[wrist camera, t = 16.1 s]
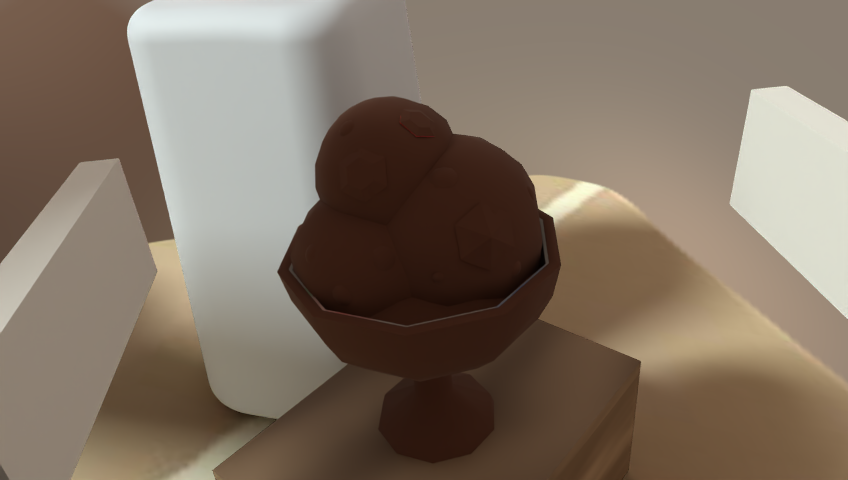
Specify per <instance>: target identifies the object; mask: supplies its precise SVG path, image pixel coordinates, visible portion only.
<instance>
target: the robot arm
mask: <svg viewBox="0 0 848 480" xmlns="http://www.w3.org/2000/svg"><path fill="white" fill-rule="evenodd" d="M730 205H731V206H732V207H733V208H734V209H735V210H736V211H737V212H738V213H739V214H740V215H741V216H742V217H743V218H744V219H745V220H746V221H747V222H748V223H749V224H750V225H751V226H752V227H753V228H755V229H756V230H757V231H758V232H759V233H760V234H761V235H762V236H763V237H764V238H765V239H766V240H767V241H768V242H769V243H770V244H771V245H772V246H773V247H774V248H775V249H776V250H777V251H778V252H779V253H780V254H781V255H782V256H783V257H784V258H785V259H786V260H787V261H789V263H790V264H792V265H793V266H794V267H795V268H796V269H797V270H798V271H799V272H800V273H801V274H802V275H803V276H804V277H805V278H806V279H807V280H808V281H809V282H810V283H811V284H812V285H813V286H814V287H815V288H816V289H817V290H818V291H819V292H820V293H821V294H822V295H823V296H824V297H826V299H827V300H829V301H830V302H831V303H832V304H833V305H834V306H835V307H836V308H837V309H838V310H839V311H840V312H841V313H842V314H843V315H844V316H845V317H846V318H847V319H848V121H846V120H844V119H843V118H841V117H839V116H838V115H836V114H834V113H832V112H831V111H829V110H827V109H826V108H824V107H822V106H820V105H819V104H817V103H815V102H813V101H812V100H810V99H808V98H807V97H805V96H803V95H801V94H799V93H798V92H796V91H794V90H793V89H791V88H789V87H788V86H782V87H773V88H763V89H755V90H751V95H750V100H749V106H748V111H747V116H746V121H745V126H744V132H743V138H742V142H741V147H740V152H739V158H738V163H737V169H736V173H735V179H734V184H733V189H732V194H731V200H730ZM156 273H157V268H156V265H155V263H154V260H153V257H152V254H151V251H150V248H149V245H148V242H147V239H146V236H145V233H144V231H143V228H142V225H141V222H140V219H139V217H138V213H137V210H136V207H135V205H134V201H133V199H132V196H131V193H130V190H129V187H128V184H127V181H126V179H125V175H124V173H123V169H122V167H121V164H120V161H119V159H108V160H99V161H91V162H81V163H79V164H78V166H77V167H76V168H75V169H74V171H73V172H72V173H71V175H70V176H69V177H68V178H67V180H66V181H65V182H64V184H63V185H62V186H61V187H60V189H59V190H58V191H57V192H56V194H55V195H54V196H53V198H52V199H51V200H50V201H49V203H48V204H47V205H46V206H45V208H44V209H43V210H42V212H41V213H40V214H39V216H38V217H37V218H36V219H35V221H34V222H33V223H32V224H31V226H30V227H29V228H28V229H27V231H26V232H25V233H24V235H23V236H22V237H21V238H20V240H19V241H18V242H17V243H16V245H15V246H14V247H13V249H12V250H11V251H10V252H9V254H8V255H7V256H6V257H5V259H4V260H3V261H2V263H1V264H0V480H71V477H72V475H73V473H74V470H75V468H76V465H77V463H78V461H79V458H80V456H81V453H82V451H83V449H84V446H85V444H86V441H87V439H88V437H89V434H90V432H91V429H92V427H93V425H94V422H95V420H96V417H97V415H98V413H99V410H100V408H101V405H102V403H103V401H104V398H105V396H106V393H107V391H108V389H109V386H110V384H111V381H112V379H113V377H114V374H115V372H116V369H117V367H118V365H119V362H120V360H121V357H122V355H123V353H124V350H125V348H126V345H127V343H128V341H129V338H130V336H131V333H132V331H133V329H134V326H135V324H136V321H137V319H138V317H139V314H140V312H141V309H142V307H143V305H144V302H145V300H146V297H147V295H148V293H149V290H150V288H151V285H152V283H153V281H154V278H155V276H156Z"/></svg>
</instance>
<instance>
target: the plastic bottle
mask: <svg viewBox="0 0 848 480" xmlns="http://www.w3.org/2000/svg"><path fill="white" fill-rule="evenodd" d="M127 30H128V31H127V35H128V42H129V46H130V50H131V54H132V58H133V63H134V67H135V71H136V75H137V80H138V84H139V88H140V92H141V96H142V101H143V105H144V109H145V114H146V118H147V122H148V126H149V131H150V135H151V139H152V143H153V147H154V152H155V156H156V160H157V165H158V169H159V173H160V177H161V182H162V185H163V190H164V194H165V199H166V203H167V207H168V211H169V215H170V220H171V224H172V228H173V232H174V237H175V241H176V245H177V249H178V254H179V258H180V262H181V266H182V271H183V275H184V279H185V283H186V288H187V292H188V296H189V300H190V304H191V309H192V313H193V317H194V321H195V326H196V330H197V334H198V338H199V343H200V347H201V351H202V355H203V360H204V364H205V368H206V372H207V377H208V381H209V384H210V387H211V389H212V391H213V393H214V394H215V396H216V397H217V398H218V399H219V401H221V402H222V403H223V404H224V405H226V406H227V407H229V408H231V409H233V410H235V411H238V412H241V413H246V414H251V415H256V416H262V417H268V418H273V419H278V418H280V417H281V416H282V415H284V414H285V413H286V412H287V411H289V410H290V409H291V408H293V407H294V406H295V405H296V404H298V403H299V402H300V401H301V400H303V399H304V398H305V397H307V396H308V395H309V394H310V393H312V392H313V391H314V390H315V389H317V388H318V387H319V386H321V385H322V384H323V383H324V382H326V381H327V380H328V379H329V378H331V377H332V376H333V375H335V374H336V373H337V372H338V371H340V370H341V369H342V368H343V367H345V366H346V365H347V363H343V362H341V360H340V359H339V358H338V357H337V356H336V355H335V354H334V353H333V352H332V351H331V350H330V349H329V348H328V347H327V345H326V344H325V343H324V342H323V341H322V339H321V338H320V337H319V335H318V334H317V333H316V332H315V330H314V329H313V328H312V326H311V325H310V324H309V323H308V321H307V320H306V319H305V318H304V316H303V315H302V314H301V312H300V311H299V310H298V309H297V307H296V306H295V305H294V303H293V302H292V301H291V299H290V297H289V295H288V293H287V291H286V289H285V287H284V285H283V283H282V281H281V279H280V277H279V275H278V273H277V271H278V269H279V267H280V265H281V262H282V260H283V258H284V256H285V254H286V252H287V249H288V247H289V245H290V243H291V241H292V239H293V237H294V234H295V232H296V230H297V228H298V226H299V225H301V224H303V222H304V220H305V217H306V215H307V213H308V211H309V210H310V209H311V208H312V207H313V206H314V205H315V204H316V203H317V202H318V201H319V200H320V199H319V196H318V194H317V191H316V188H315V163H316V160H317V157H318V153H319V150H320V147H321V144H322V141H323V139H324V137H325V135H326V133H327V132H328V130H329V128H330V127H331V126H332V125H333V123H334V122H335V121H336V120H337V119H338V117H339V116H340V115H341V114H342V113H344V112H345V111H346V110H348V109H349V108H350V107H352V106H354V105H356V104H358V103H360V102H362V101H364V100H368V99H371V98H375V97H388V96H395V97H400V98H405V99H408V100H411V101H414V102H417V103H420V104H422V103H421V97H420V90H419V84H418V78H417V72H416V65H415V59H414V53H413V46H412V41H411V34H410V28H409V21H408V15H407V9H406V3H405V0H154V1H151V2H149V3H147V4H145V5H143V6H142V7H140V8H139V9H138V10H137V11H136V12H135V13H134V15H133V16H132V17H131V19H130V21H129V24H128V29H127Z"/></svg>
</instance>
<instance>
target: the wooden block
mask: <svg viewBox="0 0 848 480" xmlns="http://www.w3.org/2000/svg"><path fill="white" fill-rule="evenodd" d="M640 365H641V361H639V360H637V359H634V358H632V357H629V356H627V355H625V354H622V353H620V352H617V351H615V350H612V349H610V348H607V347H605V346H603V345H600V344H598V343H595V342H593V341H590V340H588V339H585V338H583V337H581V336H578V335H576V334H573V333H571V332H568V331H566V330H563V329H561V328H558V327H556V326H554V325H551V324H549V323H546V322H544V321H541V320H539V319H537V320H536V321H535V322H534V323H533V324H532V325H531V326H530V327H529V328H528V329H527V330H526V331H525V332H524V333H523V334H521V335H520V336H519V337H518V338H517V339H516V340H515V341H514V342H513V343H512V344H511V345H510V346H509V347H508V348H507V349H506V350H505V351H504V352H503V353H501V354H500V355H499V356H498V357H497V358H496V359H495V360H494V361H492V362H490V363H488V364H486V365H484V366H482V367H480V368H478V369H473V370H469V371H465V372H461V373H466V374H470V375H471V376H472V377H473V378H474V379H475V380H476V381H477V382H478V383H479V384H481V385H482V386H483V387H484V388H485V389H486V390H487V391H488V392H489V393H490V395H491V397H492V399H493V401H494V430H493V431H492V432H491V433H490V434H489V436H488V437H487V438H486V439H485V440H484V441H483V442H482V443H481V444H480V445H479V446H478V447H477V448H476V449H475V450H474V451H473V453H472V454H469V455H465V456H461V457H457V458H453V459H449V460H445V461H441V462H437V463H429V462H425V461H422V460H418V459H415V458H411V457H407V456H404V455H400V454H397V453H396V452H395V451H394V449H393V448H392V447H391V445H390V444H389V443H388V441H387V440H386V439H385V437H384V436H383V435H382V434H381V432H380V431H379V430H378V428H379V422H380V417H381V411H382V405H383V400H384V396H385V394H386V393H387V392H388V391H389V390H391V389H392V388H393V387H394V386H395V385H396V384H398V383H399V382H400V381H401V380H402V379H403V378H402V377H398V376H393V375H389V374H385V373H380V372H376V371H372V370H367V369H364V368H360V367H357V366H354V365H350V364H347V365H346V366H345V367H343V368H342V369H341V370H340V371H338V372H337V373H336V374H335V375H333V376H332V377H331V378H329V379H328V380H327V381H326V382H324V383H323V384H322V385H321V386H319V387H318V388H317V389H315V390H314V391H313V392H312V393H310V394H309V395H308V396H307V397H305V398H304V399H303V400H301V401H300V402H299V403H298V404H296V405H295V406H294V407H293V408H291V409H290V410H289V411H287V412H286V413H285V414H284V415H282V416H281V417H280V418H278V419H277V420H276V421H275V422H273V423H272V424H271V425H270V426H268V427H267V428H266V429H264V430H263V431H262V432H261V433H259V434H258V435H257V436H256V437H254V438H253V439H252V440H250V441H249V442H248V443H247V444H245V445H244V446H243V447H242V448H240V449H239V450H238V451H236V452H235V453H234V454H233V455H231V456H230V457H229V458H228V459H226V460H225V461H224V462H222V463H221V464H220V465H219V466H217V467H216V468H215V469H214V470H212V471H213V473H214V476H215V479H216V480H622V479H623V477H624V476H625V474H626V473H627V471H628V470H629V462H630V453H631V444H632V435H633V427H634V418H635V409H636V400H637V391H638V383H639V374H640Z"/></svg>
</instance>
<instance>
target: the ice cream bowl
mask: <svg viewBox="0 0 848 480" xmlns="http://www.w3.org/2000/svg"><path fill="white" fill-rule="evenodd" d="M315 188H316V191H317V194H318V196H319V199H320V200H319V201H318V202H317V203H316V204H315V205H314V206H313V207H312V208H311V209H310V210H309V211H308V213H307V215H306V217H305V220H304V222H303V224H301V225H299V226H298V228H297V230H296V232H295V234H294V237H293V239H292V241H291V243H290V245H289V247H288V249H287V252H286V254H285V256H284V258H283V260H282V262H281V265H280V267H279V269H278V271H277V273H278V275H279V277H280V279H281V281H282V283H283V285H284V287H285V289H286V291H287V293H288V295H289V297H290V299H291V301H292V302H293V303H294V305H295V306H296V307H297V309H298V310H299V311H300V312H301V314H302V315H303V316H304V318H305V319H306V320H307V321H308V323H309V324H310V325H311V326H312V328H313V329H314V330H315V332H316V333H317V334H318V335H319V337H320V338H321V339H322V341H323V342H324V343H325V344H326V345H327V347H328V348H329V349H330V350H331V351H332V352H333V353H334V354H335V355H336V356H337V357H338V358H339V359H340V360H341V362H343V363H347V364H350V365H354V366H357V367H360V368H364V369H367V370H372V371H376V372H380V373H385V374H389V375H393V376H398V377H402V378H403V379H402V380H401V381H400V382H399V383H398V384H396V385H395V386H394V387H393V388H392V389H391V390H389V391H388V392H387V393H386V394H385V396H384V400H383V405H382V411H381V417H380V422H379V428H378V430H379V431H380V432H381V434H382V435H383V436H384V437H385V439H386V440H387V441H388V443H389V444H390V445H391V447H392V448H393V449H394V451H395V452H396V453H397V454H400V455H404V456H407V457H411V458H415V459H418V460H422V461H425V462H429V463H437V462H441V461H445V460H449V459H453V458H457V457H461V456H465V455H469V454H472V453H473V451H474V450H475V449H476V448H477V447H478V446H479V445H480V444H481V443H482V442H483V441H484V440H485V439H486V438H487V437H488V436H489V434H490V433H491V432H492V431H493V430H494V401H493V399H492V397H491V395H490V393H489V392H488V391H487V390H486V389H485V388H484V387H483V386H482V385H481V384H479V383H478V382H477V381H476V380H475V379H474V378H473V377H472V376H471V375H470V374H466V373H461V372H465V371H469V370H473V369H478V368H480V367H482V366H484V365H486V364H488V363H490V362H492V361H494V360H495V359H496V358H497V357H498V356H499V355H500V354H501V353H503V352H504V351H505V350H506V349H507V348H508V347H509V346H510V345H511V344H512V343H513V342H514V341H515V340H516V339H517V338H518V337H519V336H520V335H521V334H523V333H524V332H525V331H526V330H527V329H528V328H529V327H530V326H531V325H532V324H533V323H534V322H535V321H536V320H537V319H538V318H539V316H540V315H541V313H542V312H543V310H544V309H545V307H546V305H547V304H548V302H549V301H550V299H551V298H552V296H553V292H554V289H555V285H556V281H557V278H558V274H559V270H560V267H561V262H560V256H559V251H558V245H557V239H556V233H555V227H554V221H553V217H551V216H549V215H548V214H546V213H544V212H542V211H541V210H539V209H538V206H537V200H536V194H535V188H534V184H533V183H532V181H531V179H530V178H529V176H528V174H527V173H526V171H525V169H524V168H523V166H522V164H520V163H519V162H517V161H516V160H515V159H514V158H512V157H511V156H510V155H508V154H507V153H506V152H505V151H503V150H502V149H500V148H498V147H497V146H495V145H493V144H491V143H489V142H488V141H486V140H484V139H482V138H480V137H473V136H466V135H458V134H453V133H452V131H451V129H450V127H449V125H448V122H447V120H446V119H444V118H443V117H442V116H441V115H439V114H438V113H436V112H435V111H434V110H433V109H431V108H430V107H429V106H426V105H423V104H420V103H417V102H414V101H411V100H408V99H405V98H400V97H395V96H388V97H375V98H371V99H368V100H364V101H362V102H360V103H358V104H356V105H354V106H352V107H350V108H349V109H348V110H346V111H345V112H344V113H342V114H341V115H340V116H339V117H338V119H337V120H336V121H335V122H334V123H333V125H332V126H331V127H330V128H329V130H328V132H327V133H326V135H325V137H324V139H323V141H322V144H321V147H320V150H319V153H318V157H317V160H316V163H315Z"/></svg>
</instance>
